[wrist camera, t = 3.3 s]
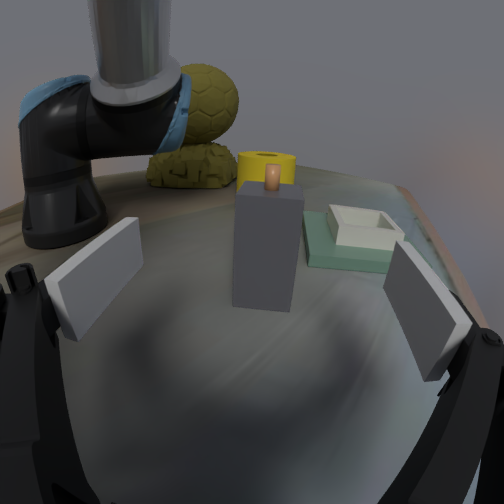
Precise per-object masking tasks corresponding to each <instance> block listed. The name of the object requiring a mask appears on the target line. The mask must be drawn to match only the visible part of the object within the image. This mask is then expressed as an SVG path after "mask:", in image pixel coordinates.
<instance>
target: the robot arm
mask: <svg viewBox="0 0 504 504" xmlns="http://www.w3.org/2000/svg"><path fill="white" fill-rule="evenodd" d="M88 9H89V17H90V24H91V31H92V37H93V44H94V50H95V55H96V61H97V65H98V71H97V72H96V73H95V75H94V76H93V78H92V80H90V77H89V76H86V75H73V76H69V77H66V78H59V79H55V80H52V81H49V82H47V83H44V84H42V85H40V86H38V87H36V88H34V89H33V90H31V91H30V92H29V93H27V94H26V95H25V97H24V98H23V100H22V101H21V105H20V115H19V123H18V128H19V135H20V152H21V163H22V172H23V180H24V188H25V197H24V206H23V218H22V233H23V237H24V241H25V244H26V245H27V246H29V247H31V248H36V249H49V248H56V247H62V246H66V245H70V244H73V243H76V242H79V241H81V240H84V239H86V238H88V237H91V236H92V235H94V234H96V233H98V232H99V231H100V230H102V229H103V228H104V227H105V226H106V224H107V221H108V220H107V213H106V207H105V205H104V202H103V200H102V198H101V196H100V193H99V191H98V189H97V186H96V184H95V182H94V179H93V176H92V168H91V160H93V159H101V158H112V157H122V156H123V157H124V156H137V155H156V154H158V153H166V152H173V151H176V150H177V149H178V148H179V147H180V146H181V145H182V143H183V140H184V136H185V132H186V126H187V120H188V111H189V105H190V98H191V77H190V76H189V75H188V74H184V73H181V68H180V65H179V63H178V61H177V60H176V59H175V58H173V57H172V56H170V55H169V37H170V14H171V0H88ZM143 265H144V263H143V255H142V247H141V239H140V230H139V219H138V218H136V217H125V218H124V219H122V220H121V221H120V222H118V223H117V224H115V225H114V226H112V227H111V228H110V229H108V230H107V231H105V232H104V233H103V234H101V235H100V236H98V237H97V238H96V239H94V240H93V241H92V242H90V243H89V244H88V245H86V246H85V247H84V248H82V249H81V250H80V251H78V252H77V253H76V254H75V255H73V256H72V257H71V258H69V259H67V260H66V261H65V262H64V263H62V264H61V266H59V267H57V268H56V269H55V270H54V271H52V272H51V273H50V274H49V275H48V276H46V277H45V278H44V279H43V280H42V281H40V282H39V283H38V282H37V279H36V276H35V272H34V269H33V266H32V265H31V264H30V263H23V264H19V265H16V266H14V267H12V268H11V269H9V270H8V271H7V272H6V274H5V277H6V280H7V282H8V285H9V288H10V291H11V294H5V292H4V290H3V287H2V284H0V504H101V503H100V501H99V499H98V498H97V496H96V494H95V493H94V491H93V490H92V489H91V487H90V486H89V484H88V482H87V480H86V477H85V475H84V471H83V468H82V465H81V462H80V459H79V455H78V452H77V448H76V444H75V440H74V436H73V432H72V428H71V423H70V419H69V414H68V409H67V403H66V398H65V392H64V385H63V378H62V370H61V361H60V351H59V338H58V336H57V333H56V331H57V329H58V328H59V327H60V326H61V329H62V331H63V334H64V336H65V338H68V339H71V340H74V341H77V342H79V341H80V340H81V338H82V337H83V336H84V335H85V333H86V332H87V331H88V330H89V328H90V327H91V326H92V325H93V323H94V322H95V321H96V320H97V318H98V317H99V316H100V315H101V314H102V312H103V311H104V310H105V309H106V308H107V306H108V305H109V304H110V303H111V302H112V300H113V299H114V298H115V297H116V296H117V294H118V293H119V292H120V291H121V290H122V289H123V288H124V286H125V285H126V284H127V283H128V282H129V281H130V279H131V278H132V277H133V276H134V275H135V274H136V273H137V272H138V270H139V269H140V268H141V267H142V266H143ZM383 289H384V291H385V293H386V295H387V297H388V299H389V301H390V303H391V305H392V307H393V309H394V312H395V314H396V316H397V318H398V320H399V323H400V325H401V327H402V329H403V332H404V334H405V336H406V339H407V341H408V343H409V346H410V348H411V350H412V353H413V355H414V358H415V360H416V363H417V365H418V368H419V370H420V373H421V376H422V378H423V381H424V382H429V381H438V380H440V379H441V377H442V376H443V374H444V373H445V371H446V370H448V372H449V374H450V377H449V379H448V380H447V382H446V383H445V385H444V386H443V388H442V389H441V390H440V392H439V393H438V395H437V396H440V398H439V400H438V402H437V404H436V407H435V409H434V411H433V413H432V415H431V417H430V419H429V421H428V423H427V425H426V427H425V429H424V431H423V433H422V435H421V437H420V438H419V440H418V442H417V444H416V446H415V447H414V449H413V451H412V453H411V454H410V456H409V458H408V459H407V461H406V463H405V464H404V466H403V467H402V469H401V470H400V472H399V474H398V475H397V477H396V478H395V480H394V481H393V482H392V484H391V485H390V487H389V488H388V490H387V491H386V492H385V494H384V495H383V496H382V498H381V499H380V500H379V502H378V503H377V504H462V503H463V501H464V499H465V497H466V495H467V492H468V490H469V488H470V485H471V483H472V480H473V478H474V475H475V473H476V470H477V467H478V465H479V462H480V459H481V463H480V471H479V477H478V483H477V489H476V494H475V499H474V503H473V504H504V345H503V341H502V339H501V338H500V336H498V334H497V333H495V332H494V331H492V330H490V329H487V328H480V327H479V325H478V324H477V322H476V321H475V319H474V318H473V317H472V315H471V314H470V312H469V311H467V308H466V307H465V305H463V303H462V301H461V300H460V299H459V297H458V296H456V295H455V294H454V293H453V292H451V291H450V290H448V289H447V287H446V286H445V285H444V284H443V282H442V281H441V280H440V278H439V277H438V276H437V275H436V273H435V272H434V271H433V270H432V269H431V267H430V266H429V265H428V264H427V262H426V261H425V260H424V259H423V258H422V256H421V255H420V254H419V253H418V252H417V251H416V249H415V248H414V247H413V246H412V245H411V244H410V243H409V242H406V241H397V240H396V242H395V246H394V250H393V254H392V258H391V262H390V265H389V269H388V273H387V276H386V279H385V283H384V286H383ZM111 504H115V503H113V502H111Z"/></svg>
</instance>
